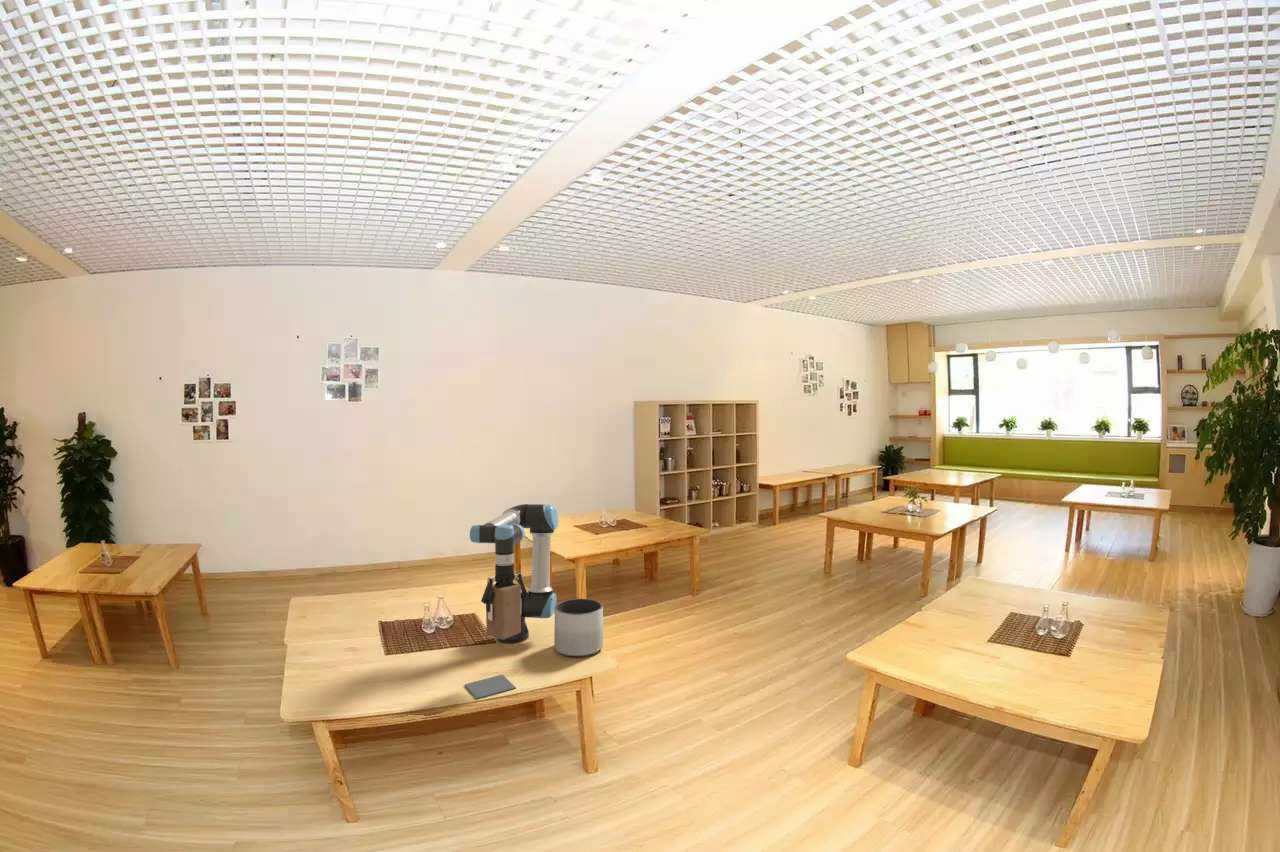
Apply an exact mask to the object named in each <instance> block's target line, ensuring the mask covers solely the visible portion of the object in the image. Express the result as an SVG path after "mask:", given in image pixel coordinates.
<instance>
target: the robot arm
mask: <svg viewBox="0 0 1280 852" xmlns="http://www.w3.org/2000/svg"><path fill="white" fill-rule="evenodd" d="M558 524H559V516H558V511H557V509H556V507H555V506H554V505H553V504H552V505H551V504H544V503H543V504H533V503H531V504H527V503H523V504H518V505H514V506H512V507H510V508H508V509H505V510H504V511H503V512H502V514H501V515H499V516H497V517H495V518H494V519H493V518H492V520H490V521H489V522H486V523H484V524H475V525H472V526H471V527H470V530H469V540H470V542H472V543H476V544H477V543H478V544H494V551H495V552H494V553H495V554H494V555H495V556H494V561H495V562H494V563H495V566H494V572H495V573H494V575H495V576H494V577H493V578H491V577H488V578H487V581H486V583H487V584H486V587H485V589H484V591H483V594H482V597H481V600H480V602H481V603H482V604H485V611H487V612H488V619H489V620H490V621H491V620H492V604H491V602H492V600H493V598H494V597H495V592H492V593H490V591H491V588H492V585H493V584H495V586H494V587H496V588H501V587H504V586H510V585H512V586H513V585H515V584H516V583H515V582H514V580H516V581H517V584H519V585H521V632H520V633H518V634H516V635H513V636H511V637H509V638H506V639H504V640H502V639H499V638H496V639H497V641H498V642H501V643H504V644H516V643H521V642H525V641H526V640H528V639H529V637H530V632H529V628H528V625H527V622H526V618H529V619H530V618H534V619H549V618H551V617H553V614H555V606H556V605H557V600H558V599H557V594H556V593H554V592H553V591H554V590H553V588H552V586H551V585H550V582H551V581H550V580H551V578H550V577H551V542H552V541H551V538H552V535H553V534H555V530H557V528H558V526H559V525H558ZM525 529H529V534H530V535H531V536H532V550H531V551H532V553H531V555H532V557H531V559H532V560H531V586H530V587H529V588H528V590H527V589H526V587H525V585H524V582H523V579H522V574H521V573H520V572H517V573H516V574H515V563H514V562H515V545H517V544H519V543H520V542H521V541H522V540H523V539H524V538H525V536H526V534H525V533H526V532H525ZM494 582H495V583H494ZM514 583H515V584H514ZM489 593H490V595H489Z"/></svg>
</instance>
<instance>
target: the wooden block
mask: <svg viewBox="0 0 1280 852" xmlns="http://www.w3.org/2000/svg"><path fill="white" fill-rule="evenodd" d="M513 583H514V584H515V585H513V586H512V585H510V586H504V587H501V588H496V587H494V586H495V584H496V583H493V584H492V588H491V591H490V593H492V592H495V597H494V598H493V600H492V602H491V604H492V620H491V621H490V620H489V619H488V612H487V611H486V610H485V611H486V612H485V616H486V620H485V621H486V622H485V623H486V627H485V628H486V629H485V630H486V631H485V633H486V636H490V637H492V638H496V639H497V638H499V639H502V640H504V639H506V638H509V637H511V636H513V635H516V634H518V633H520V632H521V585H519V584H518V583H515V582H513ZM490 593H489V595H490Z"/></svg>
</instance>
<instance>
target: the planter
mask: <svg viewBox="0 0 1280 852" xmlns="http://www.w3.org/2000/svg"><path fill="white" fill-rule="evenodd" d="M553 633H554V634H553V635H554V637H553V638H554V639H553V640H554V641H553V643H554V650H555V652H557V653H558V654H560V655H562V656H565V657H569V658H570V657H571V658H584V657H589V656H592V655H595V654H598V653H599V652H600V651H601V650H602V649H603V648H604V606H603V603H602V602H600V601H598V600H595V599H592V598H591V599H589V598H573V599H566V600H562V601H560V602H558V603H556V606H555V610H554V632H553ZM598 649H599V650H600V651H599V650H598Z"/></svg>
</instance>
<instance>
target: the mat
mask: <svg viewBox="0 0 1280 852" xmlns="http://www.w3.org/2000/svg"><path fill="white" fill-rule="evenodd" d="M464 687H465V688H466V689H467V690H468V691H469V692H470V694H471V695H472V696H473V698H475V700H476V701H477V700H481V699H484V698H487V697H492V696H495V695H499V694H502V693H505V692H508V691H513V690H515V689H516V686H515V685H514V684H513V683H512V682H511V681H510V680H509V679H508V678H507V677H506V676H505V675H504V674H498V675H495V676H491V677H488V678H484V679H479V680H476V681H473V682H472V681H471V682H468V683H465V684H464Z"/></svg>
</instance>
